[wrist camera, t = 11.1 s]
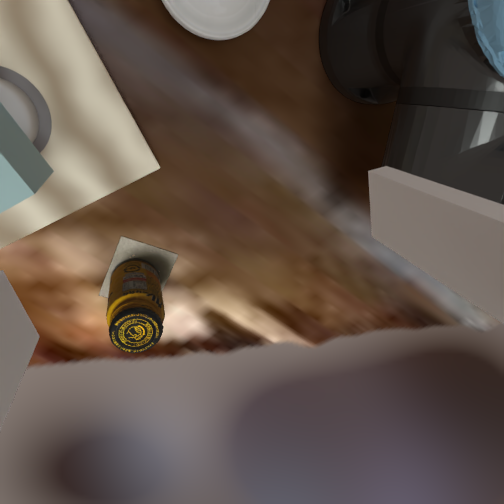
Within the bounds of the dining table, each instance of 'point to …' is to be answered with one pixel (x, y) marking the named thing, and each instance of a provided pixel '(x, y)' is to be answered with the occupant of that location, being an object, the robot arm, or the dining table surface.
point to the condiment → (136, 294)
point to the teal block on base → (19, 147)
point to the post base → (67, 114)
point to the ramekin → (217, 16)
